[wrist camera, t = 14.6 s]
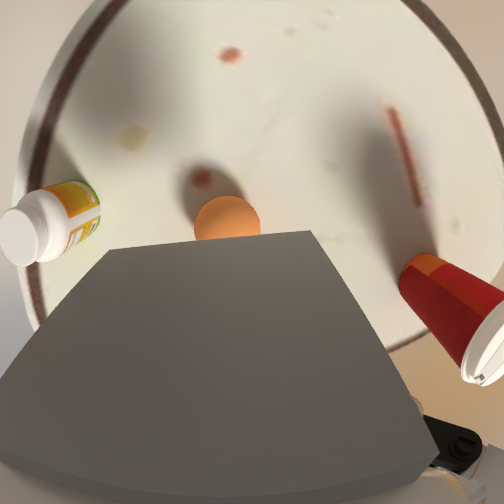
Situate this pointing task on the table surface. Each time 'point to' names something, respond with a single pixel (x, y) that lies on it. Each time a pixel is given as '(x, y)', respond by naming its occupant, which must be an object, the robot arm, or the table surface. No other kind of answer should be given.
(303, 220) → the table surface
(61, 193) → the supplement bottle
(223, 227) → the ball
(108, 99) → the table surface
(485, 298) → the paper cup
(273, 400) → the grey matte cube
